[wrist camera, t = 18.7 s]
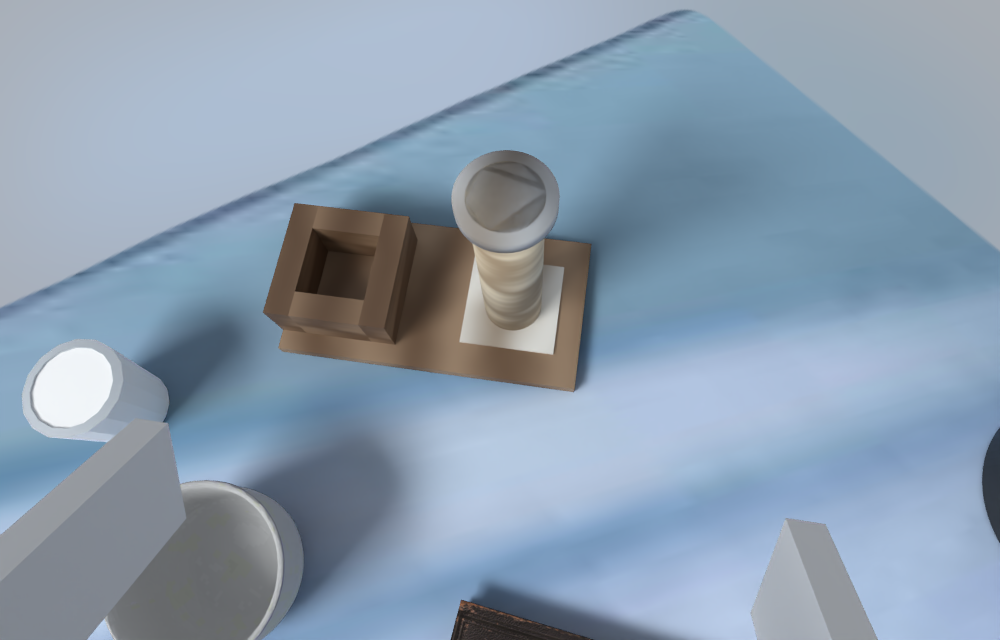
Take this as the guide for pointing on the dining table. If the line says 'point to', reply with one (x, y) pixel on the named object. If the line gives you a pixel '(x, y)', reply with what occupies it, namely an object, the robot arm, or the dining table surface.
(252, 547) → the teacup
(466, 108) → the dining table surface
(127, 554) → the robot arm
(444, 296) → the socket board
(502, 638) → the hardcover book
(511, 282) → the capped plug
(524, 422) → the dining table surface
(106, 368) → the short white cylinder
